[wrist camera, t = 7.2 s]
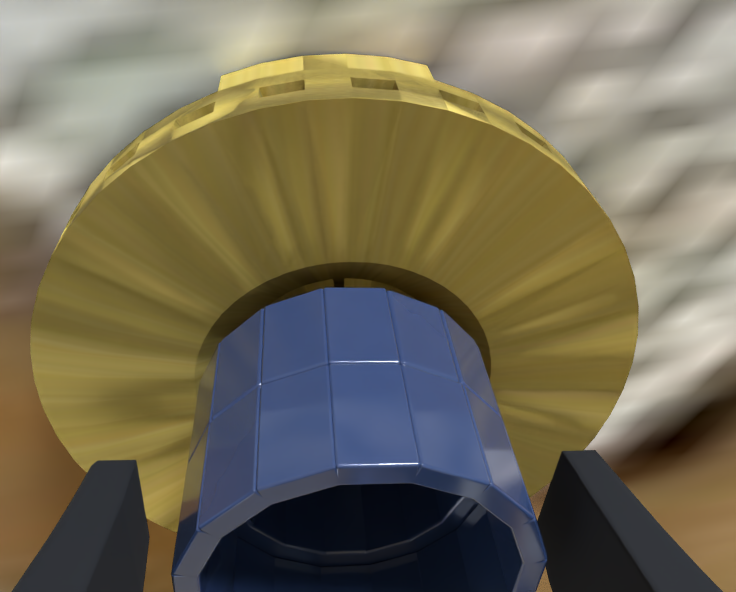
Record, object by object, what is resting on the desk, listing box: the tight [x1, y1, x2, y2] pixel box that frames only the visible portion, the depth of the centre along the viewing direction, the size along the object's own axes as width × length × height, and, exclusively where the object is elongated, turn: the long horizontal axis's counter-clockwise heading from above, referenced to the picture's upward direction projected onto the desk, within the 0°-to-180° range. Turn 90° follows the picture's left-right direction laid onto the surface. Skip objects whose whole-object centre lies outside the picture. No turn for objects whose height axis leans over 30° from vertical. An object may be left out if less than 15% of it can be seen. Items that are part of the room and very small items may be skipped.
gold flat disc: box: [30, 54, 638, 533], centre depth 15 cm, size 12×12×2 cm
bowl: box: [171, 287, 547, 592], centre depth 13 cm, size 6×6×4 cm
